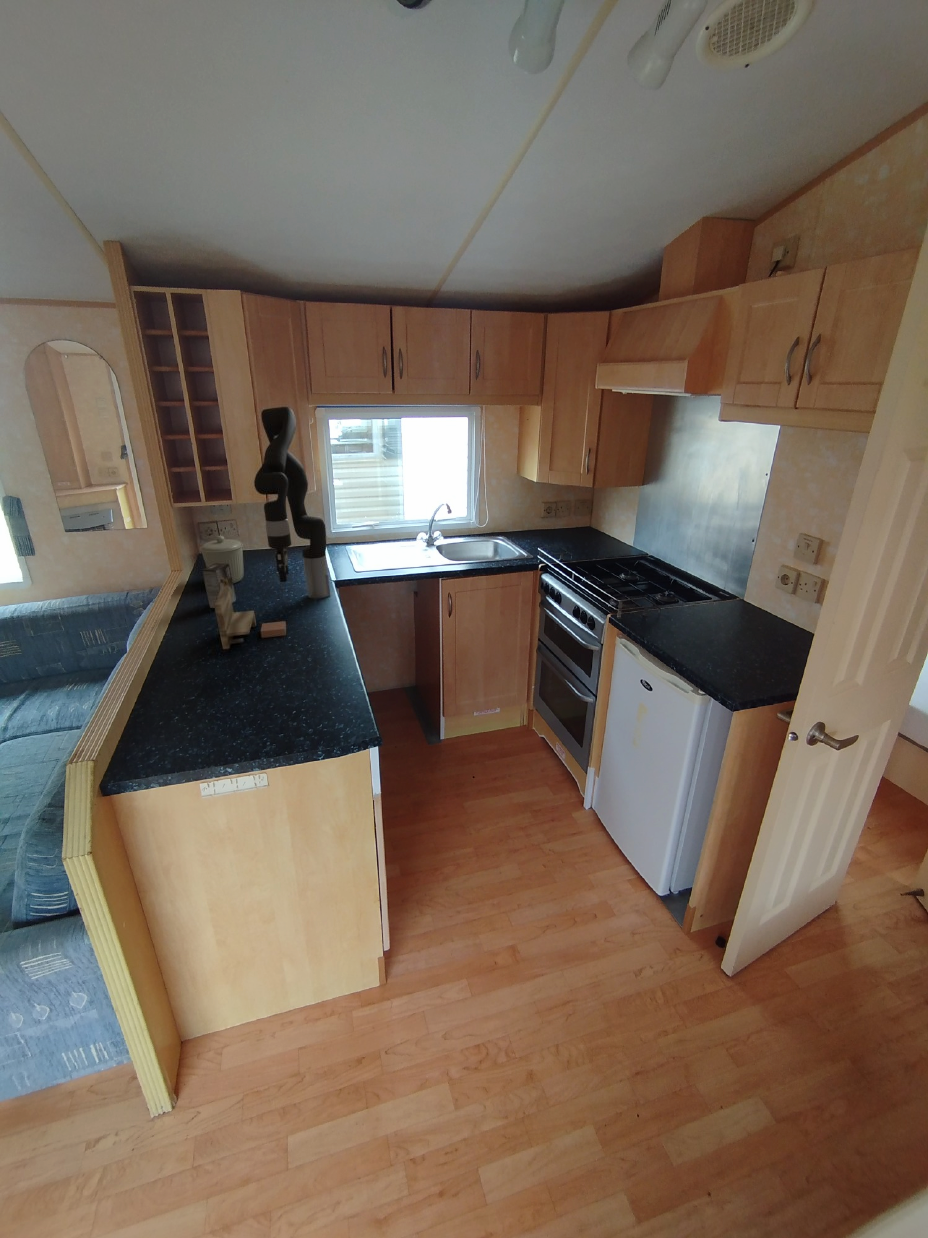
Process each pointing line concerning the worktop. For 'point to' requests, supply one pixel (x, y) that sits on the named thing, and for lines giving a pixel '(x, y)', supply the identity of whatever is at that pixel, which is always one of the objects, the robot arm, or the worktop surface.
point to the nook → (231, 619)
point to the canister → (225, 555)
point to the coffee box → (218, 581)
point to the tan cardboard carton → (273, 629)
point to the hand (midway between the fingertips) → (284, 577)
